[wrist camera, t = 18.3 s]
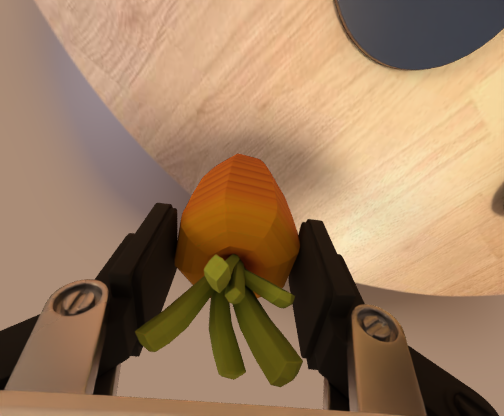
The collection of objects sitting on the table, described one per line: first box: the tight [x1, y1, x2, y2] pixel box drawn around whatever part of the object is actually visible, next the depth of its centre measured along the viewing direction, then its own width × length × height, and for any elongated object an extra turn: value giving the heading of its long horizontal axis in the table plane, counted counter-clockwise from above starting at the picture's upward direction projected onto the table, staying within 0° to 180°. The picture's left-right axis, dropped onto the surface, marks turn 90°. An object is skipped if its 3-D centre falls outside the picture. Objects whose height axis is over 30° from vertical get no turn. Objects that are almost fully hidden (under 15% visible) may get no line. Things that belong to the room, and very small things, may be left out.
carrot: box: [135, 154, 303, 387], centre depth 13 cm, size 5×5×15 cm
